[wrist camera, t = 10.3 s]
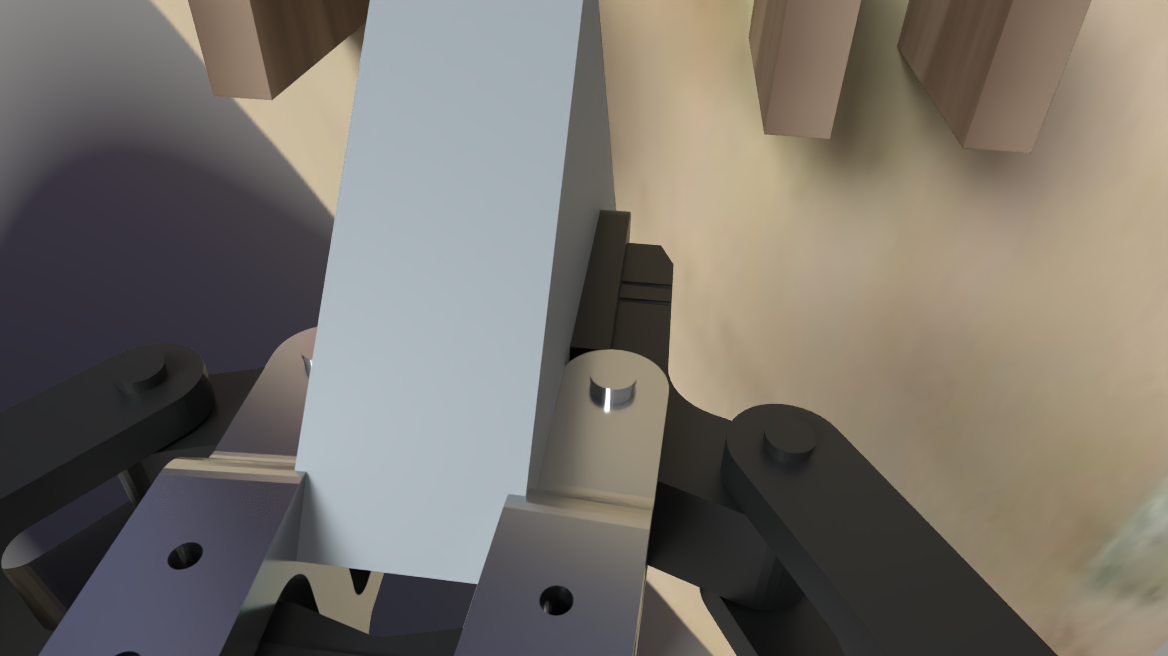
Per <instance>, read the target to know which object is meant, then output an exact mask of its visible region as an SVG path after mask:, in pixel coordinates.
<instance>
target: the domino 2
mask: <svg viewBox="0 0 1168 656" xmlns="http://www.w3.org/2000/svg"><path fill="white" fill-rule="evenodd" d="M860 4H861V0H754V6H753V12H752V19H751V26H750V33H749V42H750V48H751V55H752V61H753V67H754V73H755V79H756V85H757V91H758V97H759V104H760V110H761V116H762V122H763V128H764V134H768V135H782V136H797V137H811V138H825V139H830V136H831V131H832V127H833V122H834V118H835V114H836V109H837V105H838V100H839V96H840V92H841V87H842V83H843V78H844V74H845V70H846V65H847V61H848V56H849V52H850V48H851V43H852V39H853V34H854V30H855V26H856V21H857V17H858V12H859V8H860Z"/></svg>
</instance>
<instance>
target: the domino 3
mask: <svg viewBox="0 0 1168 656" xmlns="http://www.w3.org/2000/svg"><path fill="white" fill-rule="evenodd" d="M1090 3H1091V0H909V4H908V8H907V12H906V15H905V19H904V23H903V27H902V31H901V34H900V38H899V42H898V46H897V47H898V48H899V50H900V52H901V53H902V55H903V56H904V58H905V59H906V61H907V62H908V64H909V65H910V67H911V69H912V70H913V72H914V73H915V75H916V76H917V78H918V79H919V81H920V82H921V84H922V86H923V87H924V89H925V90H926V92H927V93H928V95H929V96H930V98H931V100H932V101H933V103H934V104H935V106H936V107H937V109H938V110H939V112H940V113H941V115H942V117H943V118H944V120H945V121H946V123H947V124H948V126H949V127H950V129H951V130H952V132H953V134H954V135H955V137H956V138H957V140H958V141H959V143H960V144H961V146H962V147H963V148H969V149H983V150H998V151H1012V152H1026V153H1031V151H1032V149H1033V146H1034V144H1035V141H1036V139H1037V136H1038V134H1039V131H1040V129H1041V126H1042V124H1043V121H1044V119H1045V116H1046V114H1047V111H1048V108H1049V106H1050V103H1051V101H1052V98H1053V96H1054V93H1055V91H1056V88H1057V86H1058V83H1059V81H1060V78H1061V76H1062V73H1063V71H1064V68H1065V66H1066V63H1067V61H1068V58H1069V56H1070V53H1071V51H1072V48H1073V46H1074V43H1075V41H1076V38H1077V36H1078V33H1079V31H1080V28H1081V26H1082V23H1083V20H1084V18H1085V15H1086V13H1087V10H1088V8H1089V5H1090Z"/></svg>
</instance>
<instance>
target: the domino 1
mask: <svg viewBox="0 0 1168 656" xmlns="http://www.w3.org/2000/svg"><path fill="white" fill-rule="evenodd" d="M188 2H189V6H190V9H191V13H192V17H193V21H194V24H195V28H196V32H197V35H198V39H199V43H200V46H201V50H202V54H203V57H204V61H205V65H206V68H207V72H208V76H209V79H210V83H211V87H212V90H213V94H214V96H220V97H235V98H249V99H264V100H273V99H274V98H275V97H276V96H278V95H279V94H280V93H281V92H282V91H284V90H285V89H286V88H287V87H288V86H290V85H291V84H292V83H293V82H294V81H296V80H297V79H298V78H299V77H300V76H302V75H303V74H304V73H305V72H306V71H308V70H309V69H310V68H311V67H312V66H314V65H315V64H316V63H317V62H318V61H320V60H321V59H322V58H323V57H324V56H326V55H327V54H328V53H329V52H330V51H332V50H333V49H334V48H335V47H336V46H338V45H339V44H340V43H341V42H342V41H344V40H345V39H346V38H347V37H348V36H350V35H351V34H352V33H353V32H354V31H356V30H357V29H358V28H359V27H360V26H362V25H363V24H364V23H365V22H366V21H367V15H368V9H369V2H370V0H188Z"/></svg>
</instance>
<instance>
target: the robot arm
mask: <svg viewBox="0 0 1168 656" xmlns="http://www.w3.org/2000/svg"><path fill="white" fill-rule="evenodd" d="M630 222H631V212H625V211H612V210H600V213H599V218H598V222H597V227H596V231H595V236H594V240H593V245H592V249H591V254H590V258H589V263H588V267H587V272H586V276H585V281H584V285H583V290H582V294H581V299H580V303H579V308H578V312H577V317H576V321H575V326H574V330H573V335H572V339H571V344H570V362H569V363H568V364H566V365H565V366H564V369H563V373H562V377H561V382H560V386H559V391H558V395H557V400H556V404H555V409H554V413H553V418H552V422H551V426H550V431H549V435H548V440H547V444H546V449H545V453H544V458H543V462H542V466H541V471H540V475H539V480H538V484H537V488H536V489H532V488H530V489H529V490H528V492H527V494H526V496H522V495H514V494H508V496H507V498H506V501H505V503H504V506H503V509H502V512H501V515H500V518H499V521H498V524H497V527H496V530H495V533H494V536H493V539H492V542H491V545H490V548H489V551H488V554H487V557H486V560H485V563H484V566H483V569H482V573H481V576H480V579H479V582H478V585H477V588H476V591H475V594H474V597H473V600H472V603H471V606H470V609H469V612H468V615H467V618H466V621H465V624H464V627H463V628H458V629H449V630H441V631H432V632H423V633H414V634H406V635H397V636H388V637H379V636H373V635H370V634H369V624H370V617H371V613H372V609H373V605H374V602H375V599H376V596H377V593H378V589H379V586H380V583H381V580H382V577H383V574H384V572H377V571H369V570H361V569H353V568H345V567H337V566H329V565H321V564H313V563H305V562H297V561H296V559H297V550H298V542H299V533H300V524H301V516H302V507H303V498H304V489H305V481H306V472H305V471H295V464H296V458H297V452H298V446H299V439H300V433H301V427H302V421H303V414H304V408H305V402H306V396H307V390H308V383H309V377H310V371H311V365H312V358H313V352H314V346H315V340H316V333H317V327H315V328H311V329H308V330H305V331H303V332H300V333H298V334H296V335H294V336H292V337H291V338H289V339H288V340H286V341H285V342H283V343H282V344H281V345H280V346H279V347H278V348H277V350H276V351H275V352H274V353H273V355H272V357H271V358H270V360H269V362H268V363H267V365H266V367H263V368H257V369H250V370H242V371H234V372H225V373H218V374H209V375H208V373H207V370H206V367H205V365H204V362H203V359H202V358H201V356H200V354H199V353H197V352H196V351H195V350H193V349H191V348H190V347H187V346H184V345H180V344H174V343H157V344H149V345H143V346H140V347H136V348H132V349H129V350H126V351H123V352H121V353H119V354H117V355H114V356H112V357H110V358H108V359H106V360H104V361H102V362H100V363H98V364H96V365H94V366H92V367H90V368H88V369H86V370H84V371H82V372H80V373H78V374H76V375H74V376H72V377H70V378H68V379H66V380H64V381H61V382H59V383H57V384H56V385H53V386H52V387H49V388H47V389H45V390H43V391H41V392H39V393H37V394H35V395H33V396H31V397H29V398H27V399H25V400H23V401H21V402H19V403H17V404H15V405H13V406H11V407H9V408H7V409H5V410H3V411H1V412H0V656H636V652H637V644H638V636H639V629H640V621H641V614H642V606H643V598H644V591H645V583H646V576H647V568H648V565H649V566H651V567H654V568H656V569H658V570H661V571H663V572H665V573H668V574H670V575H672V576H675V577H677V578H679V579H682V580H684V581H686V582H689V583H691V584H693V585H696V586H698V587H700V593H701V596H702V600H703V602H704V604H705V605H706V607H707V609H708V611H709V612H710V614H711V615H712V617H713V619H714V620H715V622H716V623H717V625H718V626H719V628H720V630H721V631H722V633H723V634H724V636H725V638H726V639H727V641H728V642H729V644H730V646H731V647H732V649H733V650H734V652H735V654H736V655H737V656H1058V655H1057V654H1056V653H1055V652H1054V651H1053V650H1052V649H1051V648H1050V647H1049V646H1048V645H1047V644H1046V643H1045V642H1044V641H1043V640H1042V639H1041V638H1040V637H1039V636H1038V635H1037V634H1036V633H1035V632H1034V631H1033V630H1032V629H1031V628H1030V627H1029V626H1028V625H1027V624H1026V623H1025V622H1024V621H1023V620H1022V619H1021V617H1020V616H1019V615H1018V614H1017V613H1016V612H1015V611H1014V610H1013V609H1012V608H1011V607H1010V606H1009V605H1008V604H1007V603H1006V602H1005V601H1004V600H1003V599H1002V598H1001V597H1000V596H999V595H998V594H997V593H996V592H995V591H994V590H993V589H992V588H991V587H990V586H989V585H988V584H987V583H986V582H985V581H984V580H983V578H982V577H981V576H980V575H979V574H978V573H977V572H976V571H975V570H974V569H973V568H972V567H971V566H970V565H969V564H968V563H967V562H966V561H965V560H964V559H963V558H962V557H961V556H960V555H959V554H958V553H957V552H956V551H955V550H954V549H953V548H952V547H951V546H950V545H949V544H948V543H947V542H946V540H945V539H944V538H943V537H942V536H941V535H940V534H939V533H938V532H937V531H936V530H935V529H934V528H933V527H932V526H931V525H930V524H929V523H928V522H927V521H926V520H925V519H924V518H923V517H922V516H921V515H920V514H919V513H918V512H917V511H916V510H915V509H914V508H913V507H912V506H911V505H910V504H909V503H908V501H907V500H906V499H905V498H904V497H903V496H902V495H901V494H900V493H899V492H898V491H897V490H896V489H895V488H894V487H893V486H892V485H891V484H890V483H889V482H888V481H887V480H886V479H885V478H884V477H883V476H882V475H881V474H880V473H879V472H878V471H877V470H876V469H875V468H874V467H873V466H872V465H871V463H870V462H869V461H868V460H867V459H866V458H865V457H864V456H863V455H862V454H861V453H860V452H859V451H858V450H857V449H856V448H855V447H854V446H853V445H852V444H851V443H850V442H849V441H848V440H847V439H846V438H845V437H844V436H843V435H842V434H841V433H840V432H839V431H838V430H837V429H836V428H835V427H834V426H833V425H832V424H831V423H830V422H828V421H827V420H825V419H824V418H822V417H821V416H819V415H817V414H815V413H813V412H811V411H808V410H805V409H803V408H799V407H795V406H791V405H784V404H765V405H759V406H755V407H752V408H749V409H747V410H745V411H743V412H741V413H740V414H738V415H737V416H736V417H735V418H734V419H733V421H730V420H728V419H725V418H722V417H719V416H716V415H713V414H711V413H708V412H706V411H703V410H701V409H699V408H698V407H696V406H694V405H692V404H691V403H690V402H688V401H687V400H685V399H684V398H683V397H682V396H681V395H680V394H679V393H678V392H677V390H676V389H675V388H674V386H673V384H672V382H671V381H670V377H669V374H668V358H669V339H670V320H671V301H672V282H673V263H672V262H671V260H670V259H669V257H668V256H667V254H666V252H665V251H664V249H663V248H662V246H660V245H648V244H635V243H629V238H630ZM116 475H118V476H119V478H120V480H121V482H122V485H123V486H124V488H125V490H126V493H127V495H128V497H129V499H130V500H129V501H128V502H126V503H125V504H123V505H121V506H120V507H118V508H117V509H115V510H113V511H112V512H110V513H108V514H107V515H105V516H103V517H102V518H100V519H99V520H97V521H95V522H94V523H92V524H91V525H89V526H87V527H86V528H85V529H83V530H81V531H80V532H78V533H76V534H75V535H73V536H71V537H70V538H68V539H67V540H65V541H63V542H62V543H60V544H58V545H57V546H55V547H54V548H52V549H51V550H49V551H47V552H46V553H44V554H43V555H41V556H39V557H38V558H36V559H34V560H33V561H31V562H29V563H27V564H25V565H23V566H20V567H16V568H11V569H2V567H1V559H2V555H3V553H4V551H5V549H6V547H7V546H8V544H9V543H10V542H11V541H12V540H13V539H14V538H15V537H16V536H17V535H18V534H19V533H21V532H22V531H24V530H25V529H27V528H28V527H30V526H32V525H33V524H35V523H37V522H38V521H40V520H42V519H43V518H45V517H47V516H48V515H50V514H52V513H54V512H55V511H57V510H58V509H60V508H62V507H64V506H65V505H67V504H69V503H70V502H72V501H74V500H75V499H77V498H79V497H80V496H82V495H84V494H86V493H87V492H89V491H90V490H92V489H94V488H96V487H97V486H99V485H101V484H102V483H104V482H106V481H107V480H109V479H111V478H112V477H114V476H116Z"/></svg>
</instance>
